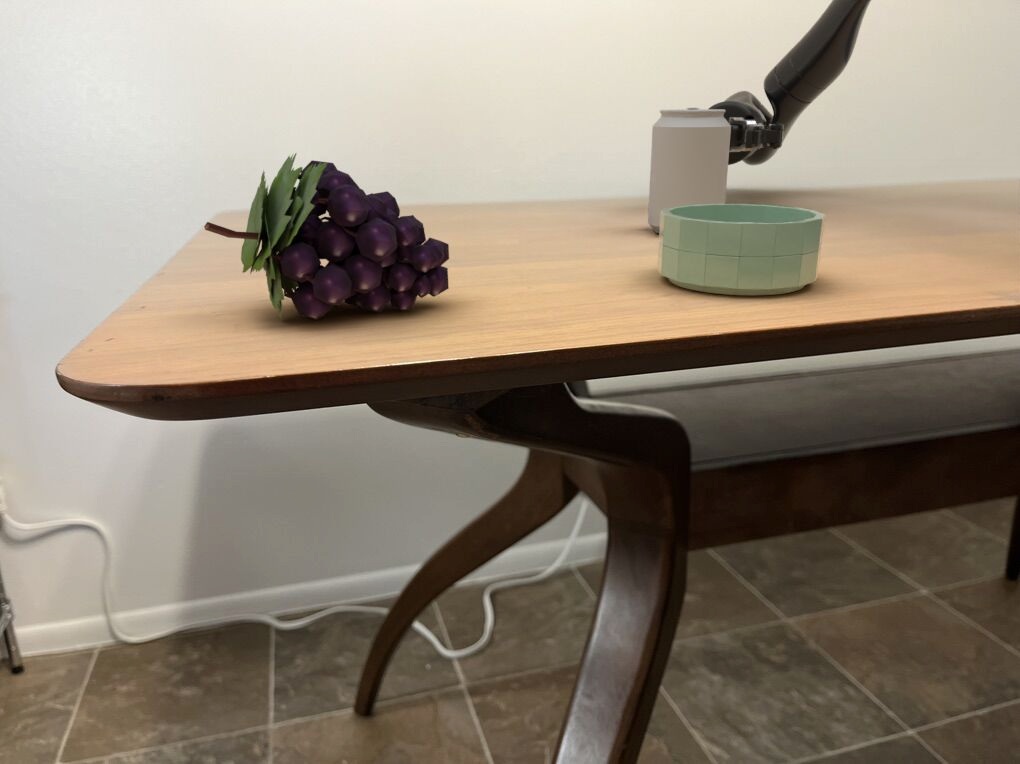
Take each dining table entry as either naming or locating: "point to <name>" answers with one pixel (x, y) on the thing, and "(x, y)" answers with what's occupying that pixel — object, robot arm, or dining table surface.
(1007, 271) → the dining table surface
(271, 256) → the fruit
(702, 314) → the dining table surface
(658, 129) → the can
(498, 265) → the dining table surface
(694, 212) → the bowl
